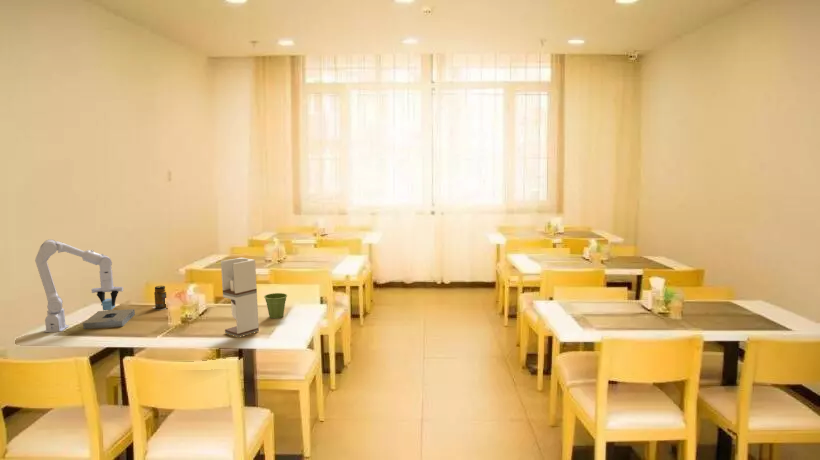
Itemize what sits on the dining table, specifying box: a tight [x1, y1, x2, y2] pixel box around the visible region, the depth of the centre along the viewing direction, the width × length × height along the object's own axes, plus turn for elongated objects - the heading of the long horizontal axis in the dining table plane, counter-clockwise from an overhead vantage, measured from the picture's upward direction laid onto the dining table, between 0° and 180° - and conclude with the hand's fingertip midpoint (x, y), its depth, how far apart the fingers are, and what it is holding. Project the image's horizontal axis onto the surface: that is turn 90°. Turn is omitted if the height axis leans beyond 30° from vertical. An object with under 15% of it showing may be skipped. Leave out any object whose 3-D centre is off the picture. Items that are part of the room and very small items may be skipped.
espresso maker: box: [220, 257, 260, 338], centre depth 283 cm, size 11×11×35 cm
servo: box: [100, 297, 116, 311], centre depth 306 cm, size 11×4×4 cm, turn 10°
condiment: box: [152, 285, 167, 311], centre depth 331 cm, size 7×8×12 cm
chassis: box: [82, 308, 136, 330], centre depth 307 cm, size 22×18×3 cm
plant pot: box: [263, 292, 288, 319], centre depth 311 cm, size 12×12×11 cm
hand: (108, 305), depth 306 cm, fingers closed on servo, 4 cm apart
